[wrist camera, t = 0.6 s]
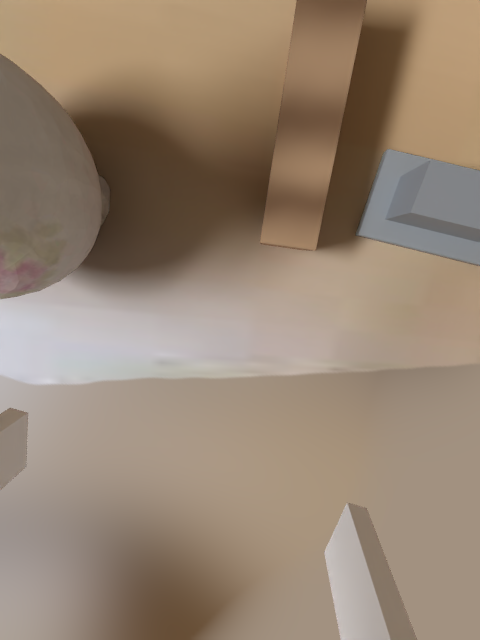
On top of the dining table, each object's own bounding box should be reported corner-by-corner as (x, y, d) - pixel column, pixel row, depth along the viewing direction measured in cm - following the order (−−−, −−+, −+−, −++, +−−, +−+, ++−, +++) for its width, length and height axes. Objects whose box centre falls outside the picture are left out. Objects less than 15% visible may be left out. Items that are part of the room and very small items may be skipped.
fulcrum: (383, 152, 27) (416, 125, 21) (525, 186, 26) (598, 168, 21) (355, 235, 29) (377, 231, 23) (486, 267, 28) (543, 272, 23)
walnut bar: (295, 21, 25) (304, -48, 19) (350, 26, 25) (375, -42, 19) (261, 244, 30) (259, 242, 24) (306, 250, 30) (315, 250, 24)
